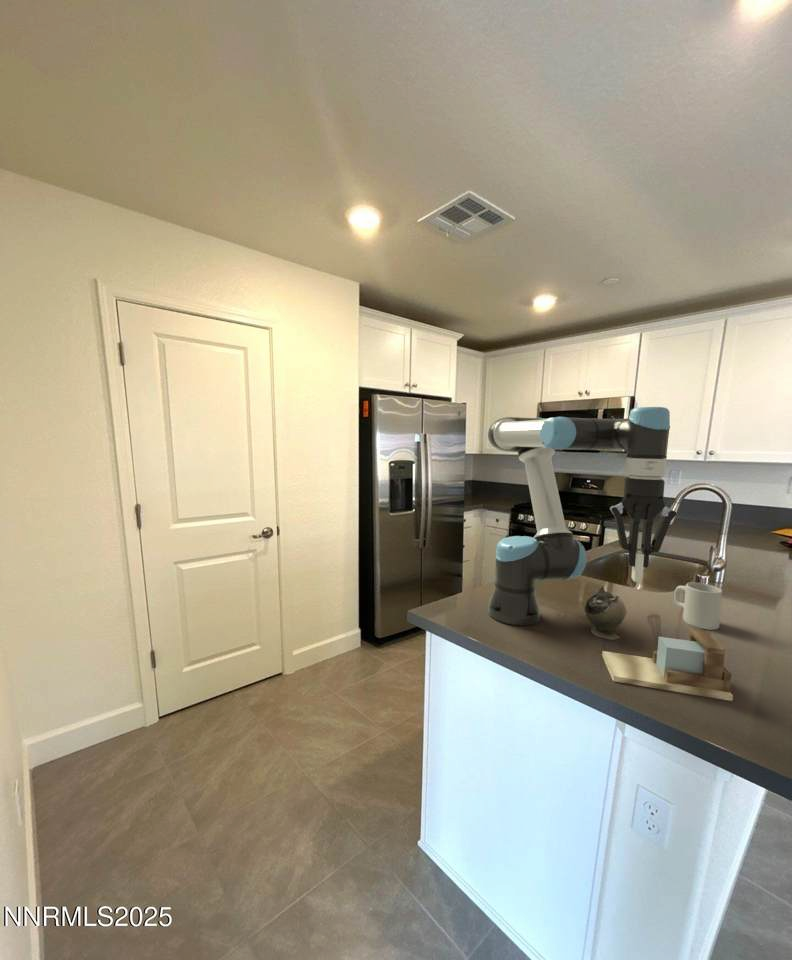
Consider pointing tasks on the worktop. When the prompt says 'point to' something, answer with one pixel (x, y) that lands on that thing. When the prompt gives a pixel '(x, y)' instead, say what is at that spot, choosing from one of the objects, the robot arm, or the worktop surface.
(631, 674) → the rail board
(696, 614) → the mug
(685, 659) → the pale blue tall block
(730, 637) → the worktop surface
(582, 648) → the worktop surface
